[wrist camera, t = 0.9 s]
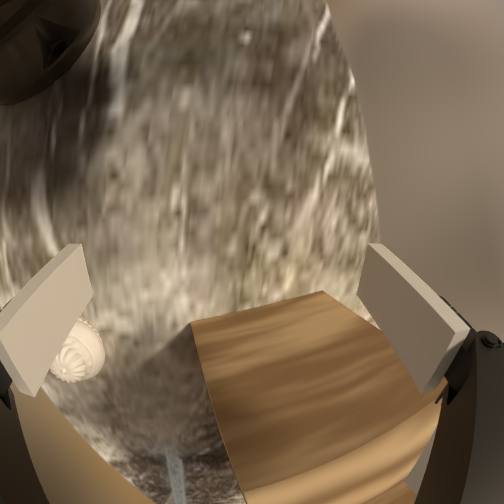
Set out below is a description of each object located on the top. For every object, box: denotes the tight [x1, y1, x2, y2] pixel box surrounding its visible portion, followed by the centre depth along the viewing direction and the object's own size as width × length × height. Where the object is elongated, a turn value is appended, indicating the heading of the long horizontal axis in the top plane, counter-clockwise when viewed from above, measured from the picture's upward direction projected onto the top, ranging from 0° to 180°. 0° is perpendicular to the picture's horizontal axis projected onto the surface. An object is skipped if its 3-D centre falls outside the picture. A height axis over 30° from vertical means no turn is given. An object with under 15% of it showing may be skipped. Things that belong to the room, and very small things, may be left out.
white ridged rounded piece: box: [49, 316, 105, 383], centre depth 19 cm, size 6×6×7 cm
